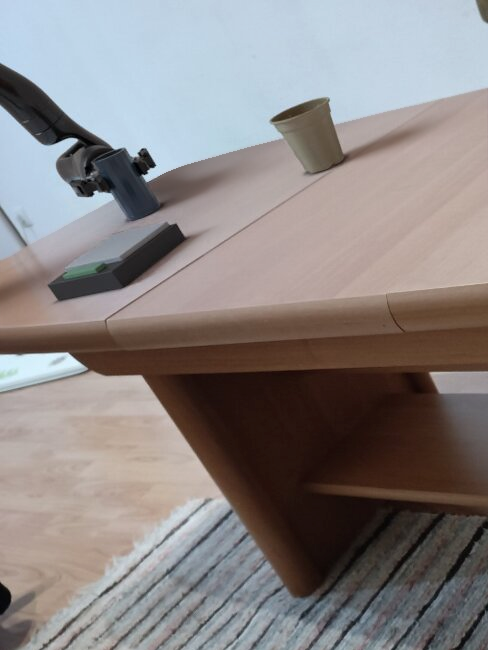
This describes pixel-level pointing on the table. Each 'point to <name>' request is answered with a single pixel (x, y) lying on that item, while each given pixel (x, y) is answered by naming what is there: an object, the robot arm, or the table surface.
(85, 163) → the robot arm
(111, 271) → the scale
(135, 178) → the cup
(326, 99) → the flower pot
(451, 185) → the table surface
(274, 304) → the table surface
